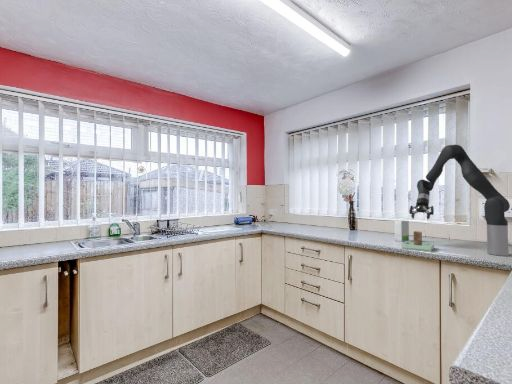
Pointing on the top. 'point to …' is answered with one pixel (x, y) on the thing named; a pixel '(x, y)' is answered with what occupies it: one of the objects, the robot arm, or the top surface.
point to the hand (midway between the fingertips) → (420, 218)
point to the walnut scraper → (417, 238)
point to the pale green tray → (418, 246)
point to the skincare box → (401, 230)
